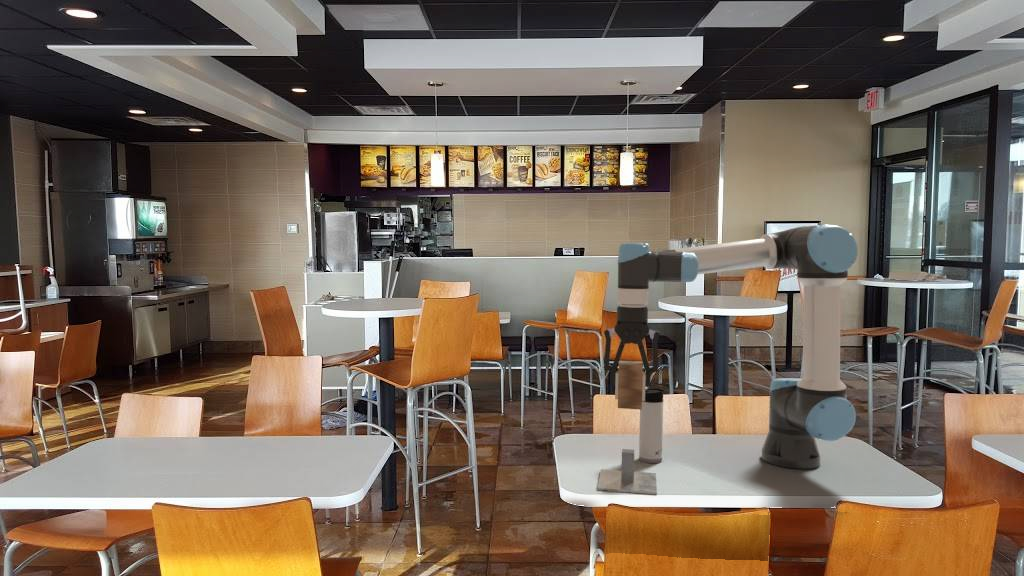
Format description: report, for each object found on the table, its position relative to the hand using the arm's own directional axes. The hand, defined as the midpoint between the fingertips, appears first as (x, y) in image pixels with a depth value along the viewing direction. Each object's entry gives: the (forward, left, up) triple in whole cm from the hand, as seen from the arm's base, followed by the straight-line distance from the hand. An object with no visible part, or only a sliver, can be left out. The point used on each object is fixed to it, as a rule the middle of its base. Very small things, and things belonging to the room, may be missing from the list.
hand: (630, 398), depth 166 cm
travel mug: (-6, -20, -21) cm, 30 cm away
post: (0, 0, -21) cm, 21 cm away
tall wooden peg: (0, 0, -2) cm, 2 cm away
